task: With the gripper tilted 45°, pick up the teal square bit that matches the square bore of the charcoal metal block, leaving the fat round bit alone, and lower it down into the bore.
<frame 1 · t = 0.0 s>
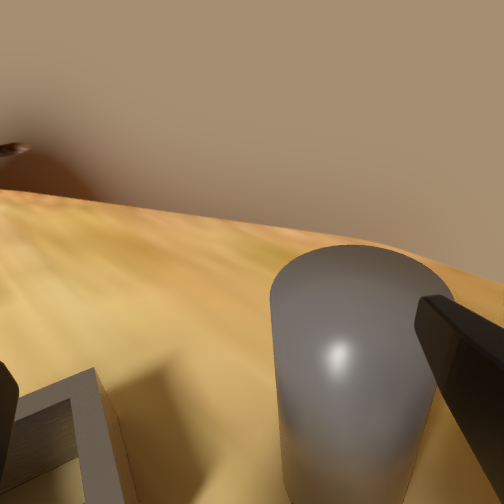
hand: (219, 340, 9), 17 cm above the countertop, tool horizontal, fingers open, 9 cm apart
round bit: (341, 470, 22), on the countertop
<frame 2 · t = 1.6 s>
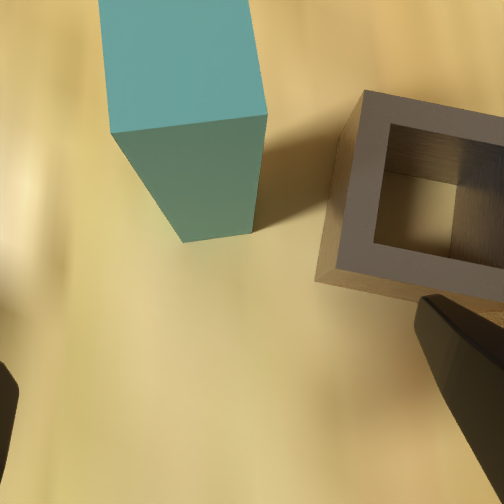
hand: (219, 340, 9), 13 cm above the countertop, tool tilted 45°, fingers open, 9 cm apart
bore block: (402, 222, 23), on the countertop
square bit: (212, 205, 23), on the countertop
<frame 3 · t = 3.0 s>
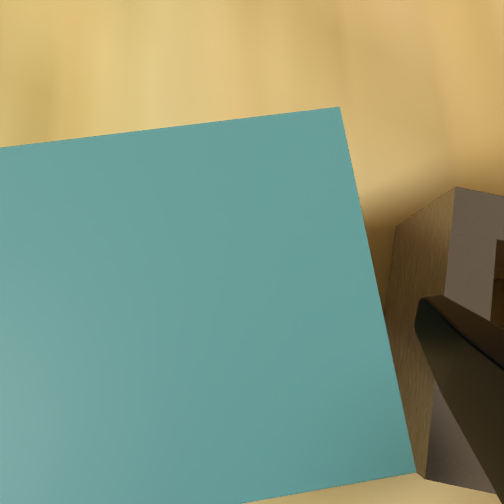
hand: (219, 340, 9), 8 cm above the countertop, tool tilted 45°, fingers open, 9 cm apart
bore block: (485, 345, 17), on the countertop
square bit: (227, 323, 17), on the countertop
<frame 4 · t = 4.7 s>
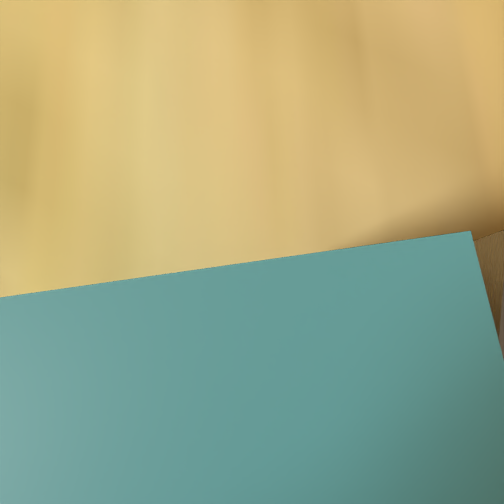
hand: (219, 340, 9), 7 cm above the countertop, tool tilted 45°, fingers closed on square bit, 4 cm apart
square bit: (232, 372, 15), on the countertop, touching gripper
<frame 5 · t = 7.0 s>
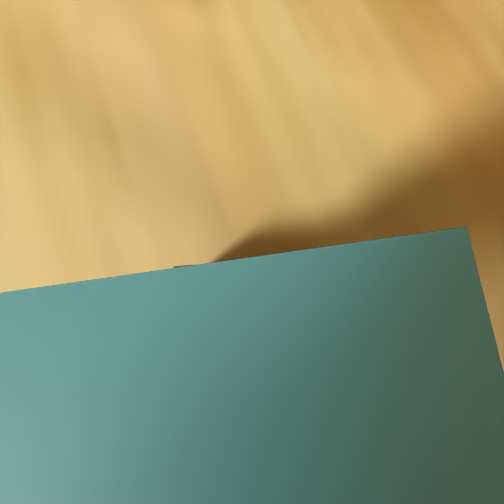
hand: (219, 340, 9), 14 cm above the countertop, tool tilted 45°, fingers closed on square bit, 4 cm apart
square bit: (232, 371, 15), point 7 cm above the countertop, touching gripper
when the fingers open (8 cm above the countertop, at t = 9.3 s): square bit drops 1 cm, resting in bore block.
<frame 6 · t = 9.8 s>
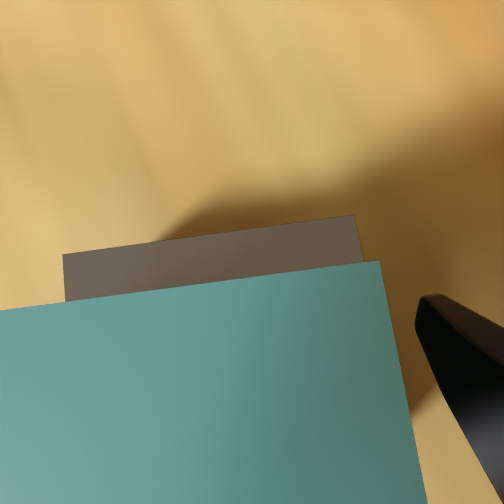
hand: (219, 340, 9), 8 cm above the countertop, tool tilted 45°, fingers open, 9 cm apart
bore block: (233, 367, 16), on the countertop
square bit: (232, 366, 16), resting in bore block
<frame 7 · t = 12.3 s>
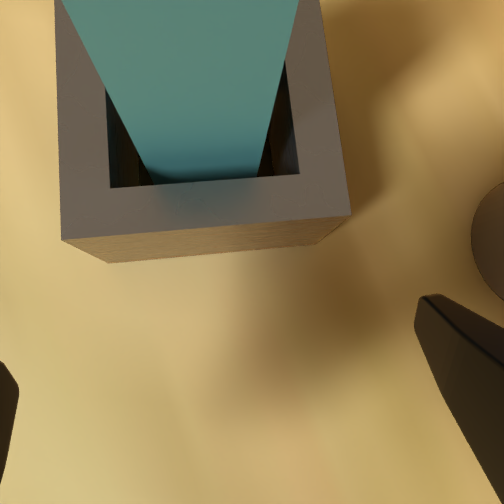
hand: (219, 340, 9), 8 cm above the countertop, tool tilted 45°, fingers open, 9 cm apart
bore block: (205, 156, 18), on the countertop
square bit: (204, 155, 18), resting in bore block
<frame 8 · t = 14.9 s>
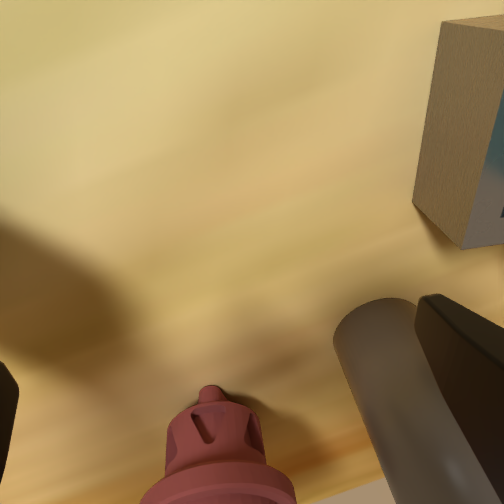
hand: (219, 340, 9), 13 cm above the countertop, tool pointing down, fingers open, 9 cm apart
round bit: (377, 332, 29), on the countertop
mechanical component: (213, 408, 31), on the countertop
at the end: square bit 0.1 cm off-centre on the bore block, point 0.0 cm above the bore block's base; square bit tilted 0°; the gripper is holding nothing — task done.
